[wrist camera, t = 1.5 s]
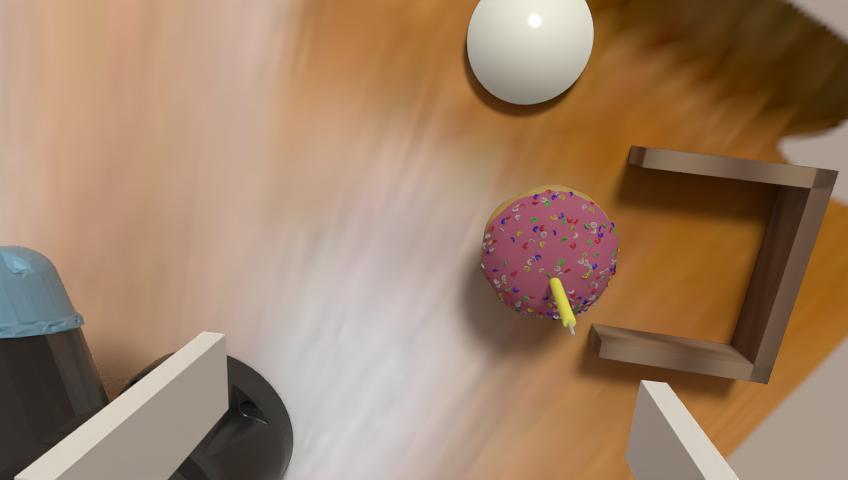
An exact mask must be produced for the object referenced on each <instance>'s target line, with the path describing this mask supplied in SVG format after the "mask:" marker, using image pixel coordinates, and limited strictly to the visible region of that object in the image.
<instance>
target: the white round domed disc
mask: <svg viewBox="0 0 848 480" xmlns="http://www.w3.org/2000/svg"><path fill="white" fill-rule="evenodd" d="M592 44H593V22H592V18H591V14H590V11H589V8H588V6H587V4H586V2H585V0H481V1H480V2H479V4H478V5H477V7H476V9H475V11H474V13H473V15H472V18H471V21H470V24H469V29H468V35H467V51H468V56H469V61H470V64H471V67H472V70H473V72H474V74H475V76H476V78H477V79H478V81H479V82H480V83H481V84H482V86H483V87H484V88H485V89H486V90H487V91H488V92H490V93H491V94H492V95H494V96H495V97H497V98H499V99H501V100H503V101H506V102H509V103H513V104H520V105H529V104H536V103H541V102H544V101H547V100H550V99H552V98H554V97H556V96H558V95H559V94H561V93H562V92H564V91H565V90H566V89H568V88H569V87H570V86H571V85H572V84H573V83H574V82H575V81H576V80H577V78H578V77H579V76H580V74H581V73H582V71H583V69H584V68H585V66H586V64H587V61H588V59H589V56H590V53H591V49H592Z"/></svg>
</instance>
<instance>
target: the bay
mask: <svg viewBox="0 0 848 480" xmlns="http://www.w3.org/2000/svg"><path fill="white" fill-rule="evenodd" d="M628 163H629V164H632V165H636V166H640V167H644V168H652V169H660V170H668V171H676V172H684V173H692V174H700V175H708V176H717V177H725V178H733V179H741V180H749V181H757V182H765V183H773V184H781V185H780V188H779V191H778V195H777V198H776V201H775V204H774V208H773V211H772V214H771V217H770V221H769V224H768V227H767V230H766V234H765V237H764V240H763V243H762V247H761V250H760V253H759V256H758V260H757V263H756V266H755V269H754V273H753V276H752V279H751V282H750V286H749V289H748V292H747V295H746V299H745V302H744V305H743V309H742V312H741V315H740V318H739V322H738V325H737V328H736V331H735V335H734V338H733V341H732V344H731V345H728V344H721V343H714V342H708V341H701V340H695V339H688V338H682V337H675V336H669V335H662V334H655V333H649V332H642V331H636V330H629V329H623V328H616V327H609V326H603V325H596V324H592V327H591V332H590V336H589V340H590V342H591V344H592V346H593V348H594V350H595V352H596V354H597V356H598V357H599V358H605V359H612V360H618V361H624V362H631V363H637V364H643V365H650V366H656V367H662V368H669V369H675V370H681V371H688V372H694V373H700V374H707V375H713V376H719V377H726V378H732V379H738V380H745V381H751V382H757V383H764V384H768V381H769V378H770V375H771V372H772V369H773V366H774V363H775V360H776V357H777V354H778V351H779V348H780V345H781V342H782V339H783V336H784V333H785V330H786V327H787V324H788V321H789V318H790V315H791V312H792V309H793V306H794V303H795V300H796V297H797V294H798V292H799V289H800V286H801V283H802V280H803V277H804V274H805V271H806V268H807V265H808V262H809V259H810V256H811V253H812V250H813V247H814V244H815V241H816V238H817V235H818V232H819V229H820V226H821V223H822V220H823V217H824V214H825V211H826V208H827V205H828V202H829V199H830V196H831V193H832V190H833V187H834V184H835V181H836V178H837V175H838V171H834V170H827V169H820V168H812V167H805V166H797V165H789V164H781V163H772V162H764V161H756V160H748V159H739V158H731V157H723V156H714V155H706V154H698V153H690V152H681V151H673V150H665V149H656V148H648V147H640V146H632V148H631V152H630V157H629V161H628Z"/></svg>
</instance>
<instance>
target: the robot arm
mask: <svg viewBox="0 0 848 480" xmlns="http://www.w3.org/2000/svg"><path fill="white" fill-rule="evenodd" d="M83 324H84V320H83V317H82V315H80V314H79V313H77V312H75V309H74V307H73V305H72V303H71V301H70V298H69V296H68V294H67V292H66V290H65V287H64V285H63V283H62V281H61V279H60V276H59V274H58V272H57V270H56V268H55V266H54V265H53V263H52V262H51V261H50V260H49V259H48V258H47V257H45V256H44V255H42V254H41V253H39V252H37V251H35V250H32V249H29V248H25V247H20V246H0V480H280V479H281V477H282V475H283V474H284V472H285V470H286V468H287V466H288V464H289V461H290V458H291V454H292V448H293V432H292V426H291V422H290V418H289V415H288V413H287V410H286V408H285V406H284V404H283V402H282V400H281V399H280V397H279V395H278V394H277V393H276V391H275V390H274V389H273V387H272V386H271V385H270V384H269V383H268V382H267V381H266V380H265V379H264V378H263V377H262V376H261V375H260V374H259V373H257V372H256V371H255V370H253V369H252V368H251V367H249V366H248V365H246V364H244V363H243V362H241V361H239V360H237V359H235V358H232V357H230V356H227V351H226V334H222V333H213V332H204V331H203V332H202V333H201V334H199V335H198V336H197V337H196V338H194V339H193V340H192V341H190V342H189V343H188V344H187V345H185V346H184V347H183V348H181V349H180V350H179V351H177V352H174V353H171V354H168V355H166V356H163V357H161V358H160V359H158V360H156V361H155V362H153V363H152V364H150V365H149V366H148V367H146V368H145V369H144V370H142V371H141V372H140V373H138V374H137V375H136V376H135V377H134V378H132V379H131V380H130V381H129V382H128V384H127V385H126V386H125V387H124V388H123V390H122V391H121V393H120V394H119V396H118V398H116V399H115V400H114V401H113V402H111V403H109V400H108V398H107V395H106V393H105V390H104V387H103V385H102V382H101V379H100V377H99V374H98V372H97V369H96V366H95V364H94V361H93V359H92V356H91V353H90V351H89V348H88V345H87V343H86V340H85V338H84V335H83V332H82V330H81V327H80V326H82V325H83ZM625 458H626V460H627V463H628V465H629V467H630V469H631V471H632V474H633V476H634V478H635V480H739V479H738V477H737V476H736V475H735V473H734V472H733V471H732V469H731V468H730V467H729V465H728V464H727V463H726V461H725V460H724V459H723V457H722V456H721V455H720V453H719V452H718V451H717V449H716V448H715V447H714V445H713V444H712V442H711V441H710V440H709V438H708V437H707V436H706V434H705V433H704V432H703V430H702V429H701V428H700V426H699V425H698V424H697V422H696V421H695V420H694V418H693V417H692V416H691V414H690V413H689V412H688V410H687V409H686V408H685V406H684V405H683V404H682V402H681V401H680V400H679V398H678V397H677V396H676V394H675V393H674V392H673V390H672V389H671V388H670V386H669V385H668V384H667V383H663V382H654V381H645V380H641V382H640V387H639V392H638V397H637V402H636V407H635V412H634V417H633V422H632V427H631V432H630V437H629V442H628V447H627V452H626V457H625Z"/></svg>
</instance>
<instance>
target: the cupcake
mask: <svg viewBox="0 0 848 480" xmlns="http://www.w3.org/2000/svg"><path fill="white" fill-rule="evenodd" d="M618 252H619V248H618V238H617V234H616V230H615V229H614V224H613V223H611V222H610V221H609V219H608V217H607V215H606V214H605V212H604V211H603V210H602V209H601V208H600V207H599V206H598V205H597V204H596V203H595V202H594V201H593V200H592V199H591V198H590V197H589V196H587V195H585V194H583V193H581V192H578V191H576V190H574V189H571V188H569V187H566V186H562V185H543V186H539V187H535V188H533V189H530V190H527V191H525V192H523V193H521V194H520V195H518V196H516V197H514V198H513V199H511V200H509V201H507V202H504V203H502V204H501V205H500V206H499V207H498V208H497V209H496V210H495V211H494V213H493V214H492V215H491V217H490V218H489V220H488V222H487V225H486V228H485V232H484V238H483V244H482V252H481V268H482V271H483V273H484V275H485V276H486V278H487V280H488V281H489V282H490V283H491V285H492V286H493V288H494V290H495V292H496V293H497V295H498V297H499V298H500V301H502V302H504V303H505V304H507V305H508V306H510V307H511V308H513V309H515V310H516V311H517V312H521V313H523V314H527V315H531V316H532V317H534V318H536V317H537V318H538V319H540V318H553V320H556V319H558V318H560V319H561V320H562V322H563V325H564V326H565V327H566V328H569V330H570V333H571V335H572V336H575V331H574V329H573V327H574V326H575V325H576V320H575V317H574V314H576V315H577V316H580V315H581V314H582V313H581V311H587V309H588V307H589V306H591V305H592V306H593V305H595V304H596V301H597V300H598V299H599V297H600V296H601V294H602V293H603V291H604V290H605V288H606V286H607V287H608V286H609V281H610V279H611V277H612V275H614V274H615V273H616V270H615V269H616V261H617V253H618ZM614 272H615V273H614ZM585 309H586V310H585ZM577 313H578V314H579V315H578V314H577Z"/></svg>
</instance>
